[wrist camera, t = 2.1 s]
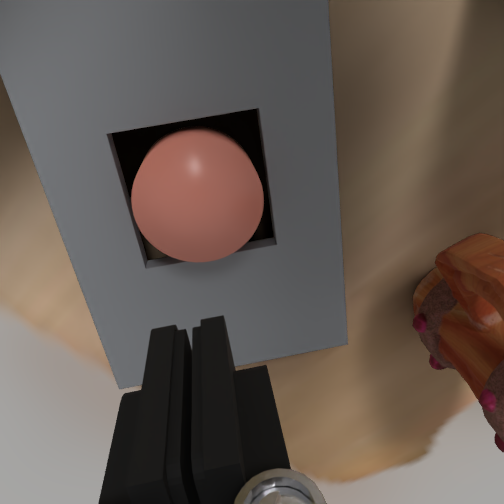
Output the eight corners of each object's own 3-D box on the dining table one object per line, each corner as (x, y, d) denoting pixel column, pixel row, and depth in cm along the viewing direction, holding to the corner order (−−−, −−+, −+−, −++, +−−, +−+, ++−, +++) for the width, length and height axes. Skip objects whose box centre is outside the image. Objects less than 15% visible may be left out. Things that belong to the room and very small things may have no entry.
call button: (125, 137, 21) (114, 150, 18) (246, 116, 21) (254, 126, 18) (155, 246, 23) (150, 272, 21) (262, 227, 24) (271, 250, 21)
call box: (13, -29, 21) (-49, -56, 16) (290, -71, 22) (321, -110, 16) (132, 329, 31) (119, 389, 25) (321, 293, 31) (347, 344, 26)
